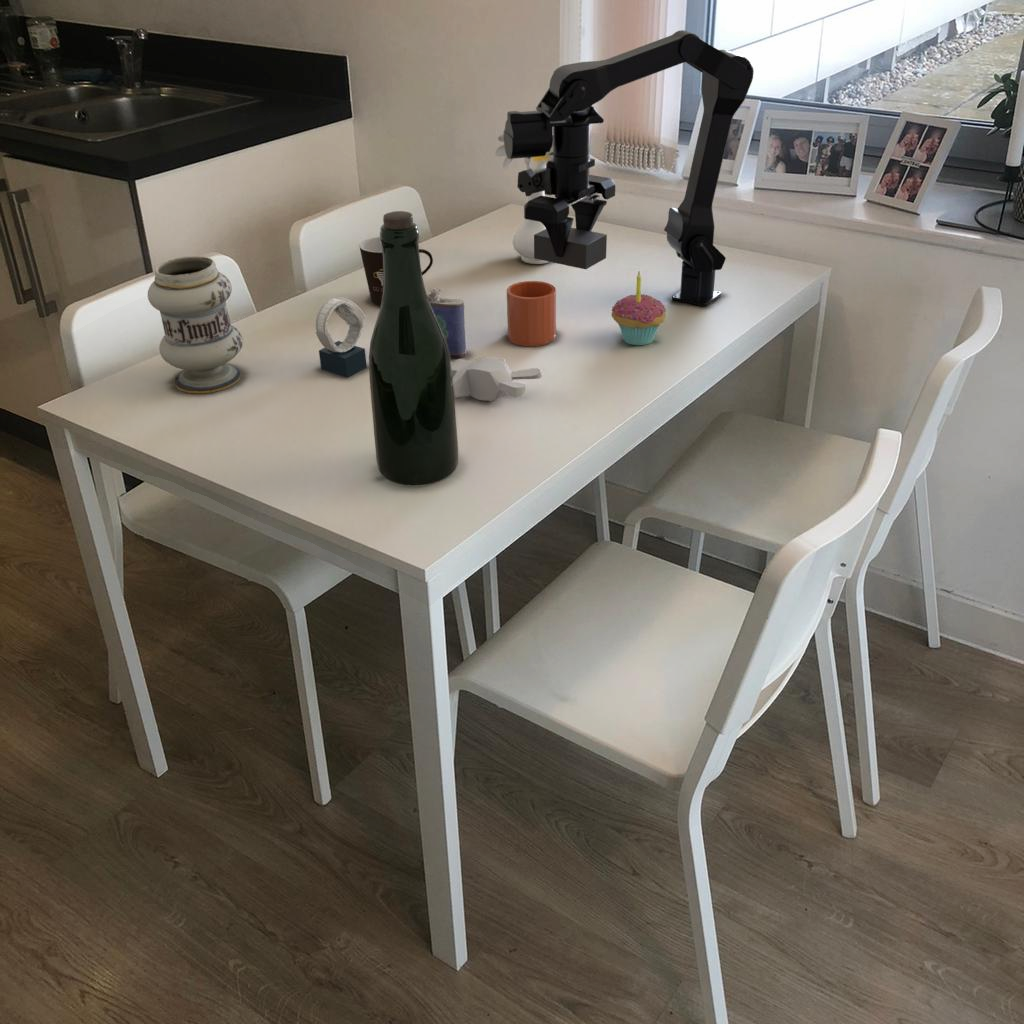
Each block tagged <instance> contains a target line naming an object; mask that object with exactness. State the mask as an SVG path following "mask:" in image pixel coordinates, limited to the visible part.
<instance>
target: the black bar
mask: <svg viewBox="0 0 1024 1024" xmlns="http://www.w3.org/2000/svg"><path fill="white" fill-rule="evenodd" d="M607 240H608V234H607V233H601V232H598V231H597V232H596V231H593V230H591V231H586V230H581V229H576V227H571V230H570V234H569V237H568V241H567V245H566V248H565V251H564V254H563V257H561V258H560V257H556V255H555V252H554V249H553V246H552V243H551V240H550V237H549V235H548V232H547V230H546V229H545V230H543V231H541V232H539V233H537V234H535V235H534V259H539V260H544V261H548V263H554V264H558V265H563V266H568V267H572V268H577V269H581V270H587V269H589V268H591V267H593V266H595V265H597V264H598V263H600V262H602V261H604V260H605V259H607V245H608V244H607V243H608V241H607Z"/></svg>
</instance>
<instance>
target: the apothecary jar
mask: <svg viewBox="0 0 1024 1024" xmlns="http://www.w3.org/2000/svg"><path fill="white" fill-rule="evenodd" d="M232 291H233V287H232V283H231V281H230V279H229V278H228V277H227V276H226V275H225V274H223V273H222V272H220V271H219V270H218V268H217V265H216V262H215V260H214V259H213V258H211V257H208V256H203V255H199V256H198V255H187V256H179V257H174V258H170V259H167V260H164V261H163V262H161V263H159V264H158V265H157V266H155V268H154V280H153V282H152V283H151V284H150V285H149V287H148V290H147V300H148V302H149V304H150V305H151V306H152V307H153V308H154V309H156V310H157V311H158V312H159V314H160V317H161V321H162V322H161V323H162V327H163V333H164V336H163V337H162V339H161V340H160V342H159V345H158V350H159V354H160V356H161V358H162V359H163V360H164V361H165V363H167V364H168V365H170V366H172V367H173V368H176V369H179V370H181V371H180V372H178V373H177V374H176V376H175V377H174V382H175V384H174V385H175V388H176V389H177V390H179V391H181V392H185V393H189V394H196V395H197V394H198V395H199V394H200V395H201V394H210V393H211V394H212V393H216V392H219V391H223V390H226V389H228V388H230V387H232V386H234V385H236V383H237V382H239V380H241V377H242V373H241V371H240V368H238V367H237V366H235V365H232V364H230V363H229V362H231V360H233V359H234V358H236V356H238V354H239V353H240V351H241V350H242V348H243V345H244V343H243V342H244V341H243V340H244V339H243V336H242V334H241V332H240V331H239V330H238V328H236V327H235V326H234V325H233V324H232V323H231V319H230V314H229V311H228V306H227V301H228V300H229V298H230V297H231V295H232Z"/></svg>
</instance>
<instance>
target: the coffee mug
mask: <svg viewBox="0 0 1024 1024" xmlns="http://www.w3.org/2000/svg"><path fill="white" fill-rule="evenodd" d="M358 247H359V252H360V256H361V260H362V264H363V265H362V266H363V270H364V274H365V278H366V284H367V287H368V293H369V296H370V301H371V303H372V304H373V305H375V306H379V307H380V306H381V301H382V295H383V279H384V278H383V254H382V244H381V240H380V236H374V237H370V238H367V239H364V240H362V241H361V242H360V243H359V245H358ZM419 254H424V255H426V256H427V257H428V258H429V264H428V266H427V267H426V268H425V269H424V270H421V271H422V277H423V276H425V274H426V273H427V272H428V271H429V270H430V269H431V267H432V266H433V262H434V259H433V255H432V253H431V252H430V251H429V250H427V249H423V248H419Z"/></svg>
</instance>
